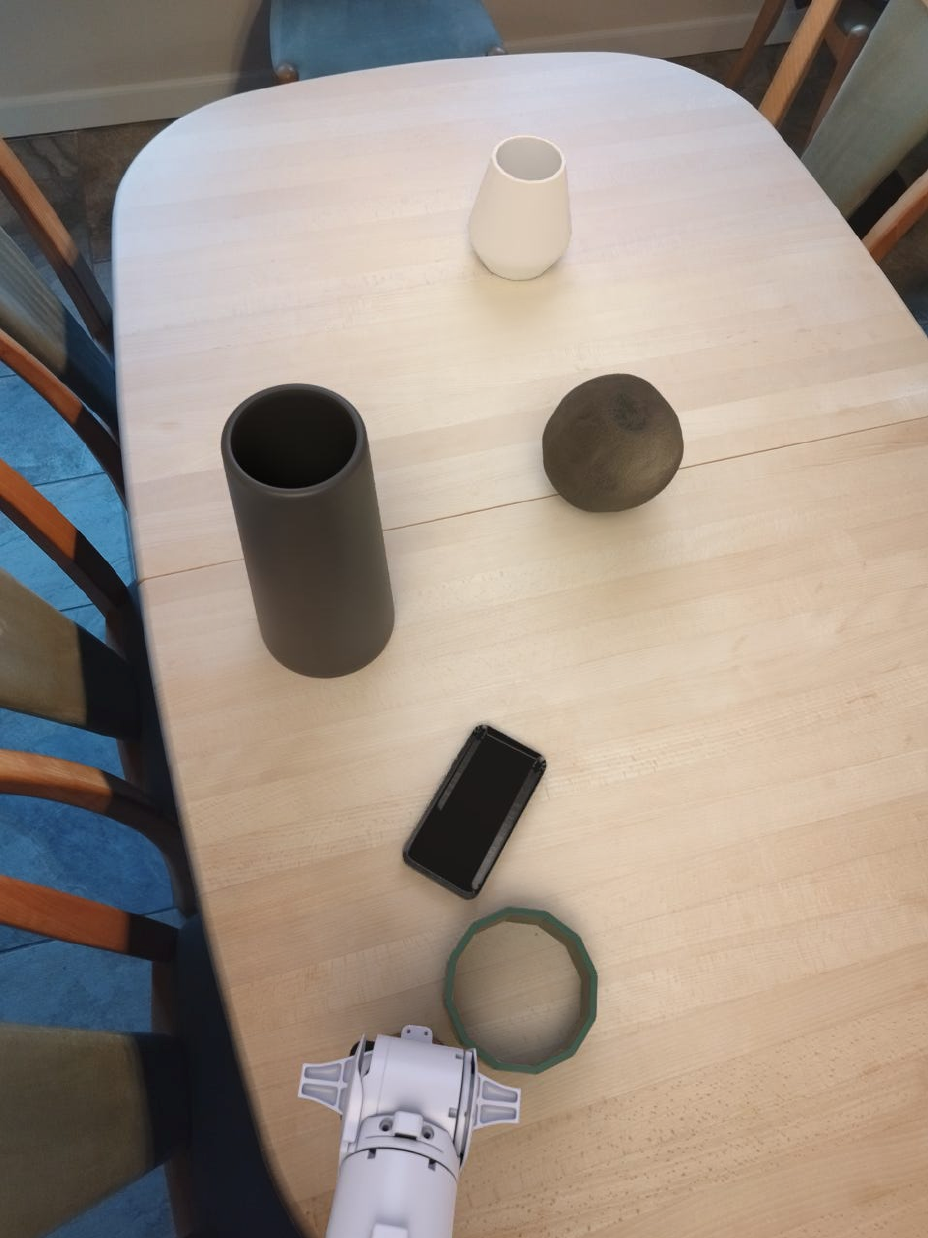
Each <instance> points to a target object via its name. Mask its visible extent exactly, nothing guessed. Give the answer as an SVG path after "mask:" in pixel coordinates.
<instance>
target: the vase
mask: <svg viewBox="0 0 928 1238" xmlns="http://www.w3.org/2000/svg"><path fill="white" fill-rule="evenodd" d="M220 437H221V438H220V454H221V458H222V463H223V464H222V465H223V469H224V473H225V478H226V482H227V487H228V491H229V497H230V501H231V506H232V510H233V514H234V519H235V524H236V528H237V532H238V533H237V534H238V537H239V538H238V539H239V542H240V546H241V551H242V556H243V560H244V561H243V562H244V564H245V570H246V572H247V573H246V574H247V578H248V583H249V588H250V592H251V597H252V601H253V604H254V610H255V615H256V618H257V623H258V627H259V631H260V635H261V638H262V640H263V643H264V645H265V647H266V649H267V651H268V652H269V653H270V655H271V656H272V657H273V658H274V659H275V660H276V661H277V662H278V663H279V664H280V665H282V666H283V667H284V668H286V669H288V670H289V671H292V672H294V673H295V674H298V675H301V676H304V677H308V678H313V679H336V678H341V677H344V676H348V675H351V674H354V673H355V672H358V671H360V670H361V669H364V668H365V667H367V666H368V665H370V664H371V663H373V661H374V660H375V659H377V658H378V657H379V655H380V654H381V653H382V652H383V651H384V649H385V648H386V646H387V645H388V643H389V640H390V639H391V637H392V635H393V634H392V633H393V630H394V626H395V605H394V596H393V591H392V584H391V578H390V571H389V565H388V558H387V552H386V545H385V538H384V532H383V525H382V519H381V513H380V506H379V499H378V493H377V492H378V491H377V487H376V480H375V473H374V469H373V462H372V454H371V450H370V443H369V438H368V437H369V436H368V431H367V427H366V424H365V421H364V419H363V417H362V415H361V414H360V412H359V411H358V409H357V408H356V407H355V405H353V404H352V403H351V402H350V401H349V400H348V399H347V398H345V397H344V396H342V395H341V394H339V393H337V392H336V391H333V390H332V389H329V388H326V387H323V386H320V385H316V384H311V383H302V382H301V383H299V382H295V383H293V382H291V383H283V384H278V385H273V386H270V387H266V388H264V389H261V390H259V391H257V392H255V393H253V394H252V395H249V397H247V398H245V399H244V400H243V401H242V402H241V403H239V404H238V405H237V406H236V407H235V408H234V409H233V411H232V412H230V415H229V416H228V417H227V419H226V421H225V423H224V425H223V428H222V432H221V436H220Z"/></svg>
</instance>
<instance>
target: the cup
mask: <svg viewBox="0 0 928 1238" xmlns="http://www.w3.org/2000/svg"><path fill="white" fill-rule="evenodd" d="M466 224H467V225H466V227H467V232H468V233H467V234H468V237H469V241H470V245H471V246H472V248H473V250H474V252H476V254H477V255H478V257H479V258H480V260H481V261H482V263H483V265H485V267H486V268H487V269H488V270H489V272H491V273H492V274H494V275H496V276H498V277H500V278H502V279H506V280H511V281H515V282H516V281H517V282H518V281H529V280H532V279H535V278H537V277H539V276H542V274H544V273H545V272H546V271H547V270H548V269H549V268H550V267H552V266H553V264H555V263H556V262H557V261H558V260H559V259H560V258H561V257H562V256H563V255H564V254H565V253H566V252H567V249H568V248H569V246H570V245H569V244H570V242H571V237H572V233H573V225H572V215H571V204H570V192H569V181H568V170H567V160H566V157H565V155H564V151H562V149H560V147H558V145H557V144H555V143H553V142H552V141H549V140H548V139H546V138H544V137H539V136H534V135H530V134H525V135H514V136H510V137H507V138H505V139H502V140H501V141H500V142H498V144H497V145H495V146H494V148H493V151H492V154H491V156H490V158H489V162H488V164H487V167H486V170H485V172H484V175H483V177H482V181H481V183H480V185H479V189H478V192H477V194H476V196H475V200H474V203H473V205H472V208H471V211H470V214H469V216H468V219H467V223H466Z"/></svg>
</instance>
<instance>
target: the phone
mask: <svg viewBox="0 0 928 1238" xmlns="http://www.w3.org/2000/svg"><path fill="white" fill-rule="evenodd" d="M546 770H547V760H546V758H545V757H544V756H543V754H541V753H540V752H537V751H536V750H534V749H532V748H530V747H528V746H527V745H525V744H523V743H522V742H520V741H518V740H516V739H514V738H512V737H511V736H509V735H507V734H505V733H504V732H501V731H499V730H498V729H496V728H494V727H492V726H491V725H488V724H479V725H477V726H476V727H475V728H474V729H473V730H472V731H471V733H470V735H469V736H468V738H467V739H466V741H465V743H464V744H463V747H461V749H460V751H459V752H458V754H457V756H456V758H454V760H453V762H452V764H451V765H450V768H449V770H448V772H447V774H446V775H445V777H444V778H443V780H442V781H441V783H440V785H439V787H438V789H437V790H436V792H435V793H434V795H433V797H432V798H431V801H430V802H429V803H428V805H427V807H426V809H425V810H424V812H423V814H422V816H421V817H420V818H419V821H418V822H417V824H416V825H415V827H414V829H413V831H412V832H411V834H410V836H409V837H408V838H407V840H406V842H405V844H404V845H403V847H402V861H403V862H404V864H405V865H406V866H407V867H408V868H410V869H412V870H414V871H415V872H417V873H419V874H420V875H422V876H424V877H425V878H426V879H429V880H430V881H432V882H434V883H436V884H437V885H439V886H440V887H442V888H444V889H445V890H447V891H449V892H450V893H452V894H454V895H455V896H456V897H459V898H461V899H462V900H465V901H471V900H473V899H475V898H477V897H478V896H479V894H480V893H481V891H482V889H483V887H484V885H485V884H486V881H487V879H488V877H489V876H490V874H491V872H492V871H493V868H494V867H495V865H496V863H497V861H498V859H499V858H500V856H501V854H502V852H503V849H504V848H505V846H506V844H507V843H508V841H509V839H510V837H511V835H512V834H513V831H514V830H515V828H516V827H517V824H518V822H519V820H520V819H521V817H522V815H523V813H524V811H525V809H526V808H527V806H528V804H529V802H530V800H531V798H532V796H533V795H534V793H535V791H536V789H537V787H538V786H539V783H540V782H541V780H542V778H543V776H544V774H545V771H546Z"/></svg>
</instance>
